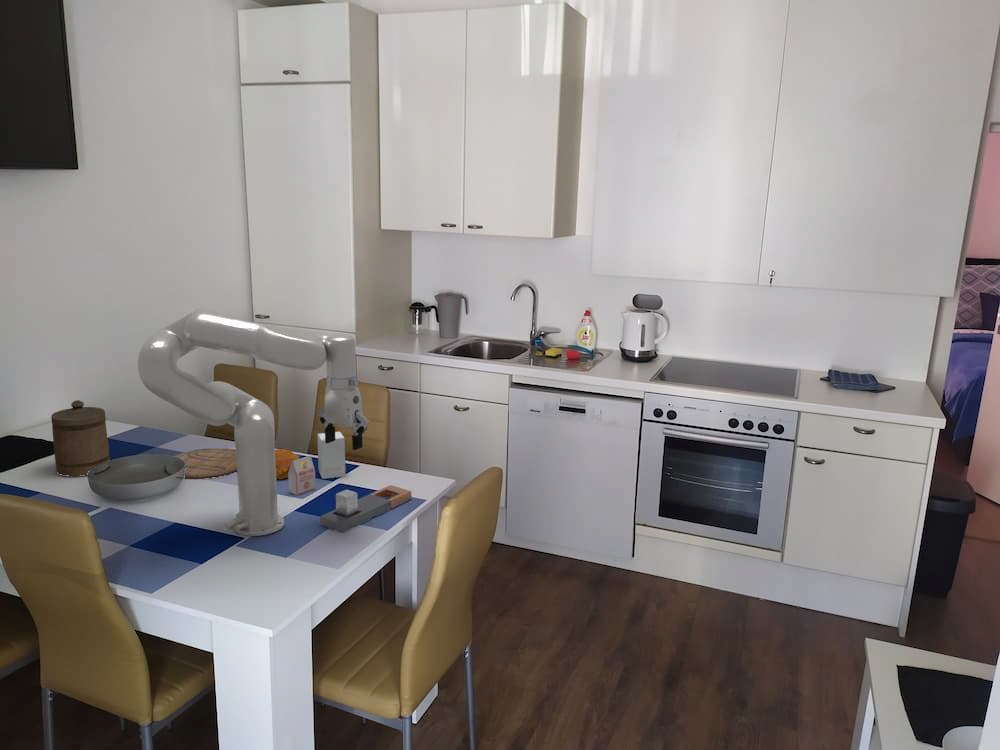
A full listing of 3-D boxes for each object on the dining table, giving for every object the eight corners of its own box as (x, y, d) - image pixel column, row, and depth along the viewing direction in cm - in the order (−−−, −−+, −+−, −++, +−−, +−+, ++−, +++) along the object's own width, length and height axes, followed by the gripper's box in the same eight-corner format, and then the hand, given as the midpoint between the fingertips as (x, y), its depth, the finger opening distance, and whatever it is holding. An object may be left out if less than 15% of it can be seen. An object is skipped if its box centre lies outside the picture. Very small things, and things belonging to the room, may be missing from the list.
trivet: (224, 483, 232) (224, 477, 232) (148, 476, 236) (148, 470, 236) (262, 456, 256) (262, 451, 256) (192, 450, 260) (192, 445, 260)
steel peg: (347, 525, 204) (346, 497, 202) (336, 522, 206) (335, 494, 204) (357, 520, 207) (357, 492, 206) (347, 517, 210) (346, 489, 208)
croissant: (246, 478, 242) (241, 455, 239) (290, 461, 252) (286, 438, 249) (269, 490, 232) (264, 466, 229) (314, 471, 242) (310, 448, 239)
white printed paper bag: (288, 492, 226) (287, 459, 223) (307, 485, 231) (306, 454, 229) (296, 495, 224) (295, 462, 221) (315, 489, 229) (314, 457, 226)
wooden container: (104, 458, 250) (98, 392, 245) (115, 471, 239) (108, 403, 234) (52, 466, 241) (45, 399, 236) (61, 481, 230) (53, 410, 225)
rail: (342, 532, 200) (341, 523, 199) (320, 525, 204) (319, 516, 204) (411, 499, 223) (411, 491, 222) (390, 493, 227) (390, 485, 226)
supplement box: (346, 476, 239) (345, 437, 236) (321, 479, 236) (320, 440, 233) (341, 468, 246) (340, 431, 243) (318, 471, 243) (316, 433, 240)
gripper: (376, 384, 198) (378, 447, 202) (327, 375, 207) (330, 436, 211) (356, 390, 192) (358, 455, 196) (307, 380, 201) (309, 443, 205)
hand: (343, 445), depth 204 cm, fingers open, 9 cm apart
